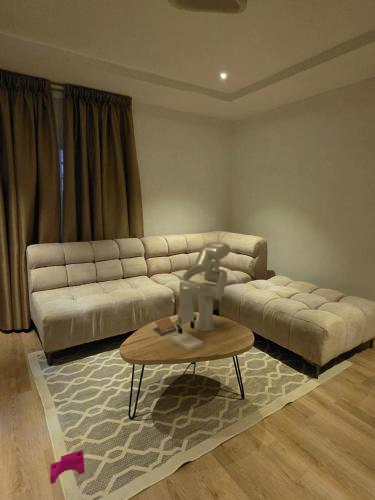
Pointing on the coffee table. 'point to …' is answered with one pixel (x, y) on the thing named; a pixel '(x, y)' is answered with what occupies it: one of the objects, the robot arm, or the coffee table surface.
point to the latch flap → (165, 324)
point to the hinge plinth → (164, 331)
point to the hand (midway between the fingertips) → (186, 330)
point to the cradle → (185, 340)
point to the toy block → (67, 465)
